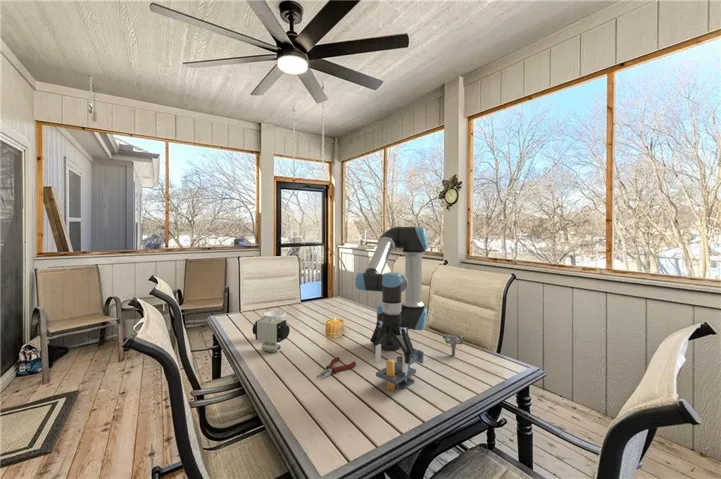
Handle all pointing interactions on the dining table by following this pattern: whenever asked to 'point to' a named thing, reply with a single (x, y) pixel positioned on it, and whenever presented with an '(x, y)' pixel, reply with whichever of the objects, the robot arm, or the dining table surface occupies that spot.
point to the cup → (275, 314)
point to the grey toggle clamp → (401, 377)
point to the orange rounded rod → (390, 373)
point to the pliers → (336, 368)
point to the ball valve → (271, 333)
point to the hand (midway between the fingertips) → (391, 365)
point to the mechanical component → (453, 341)
